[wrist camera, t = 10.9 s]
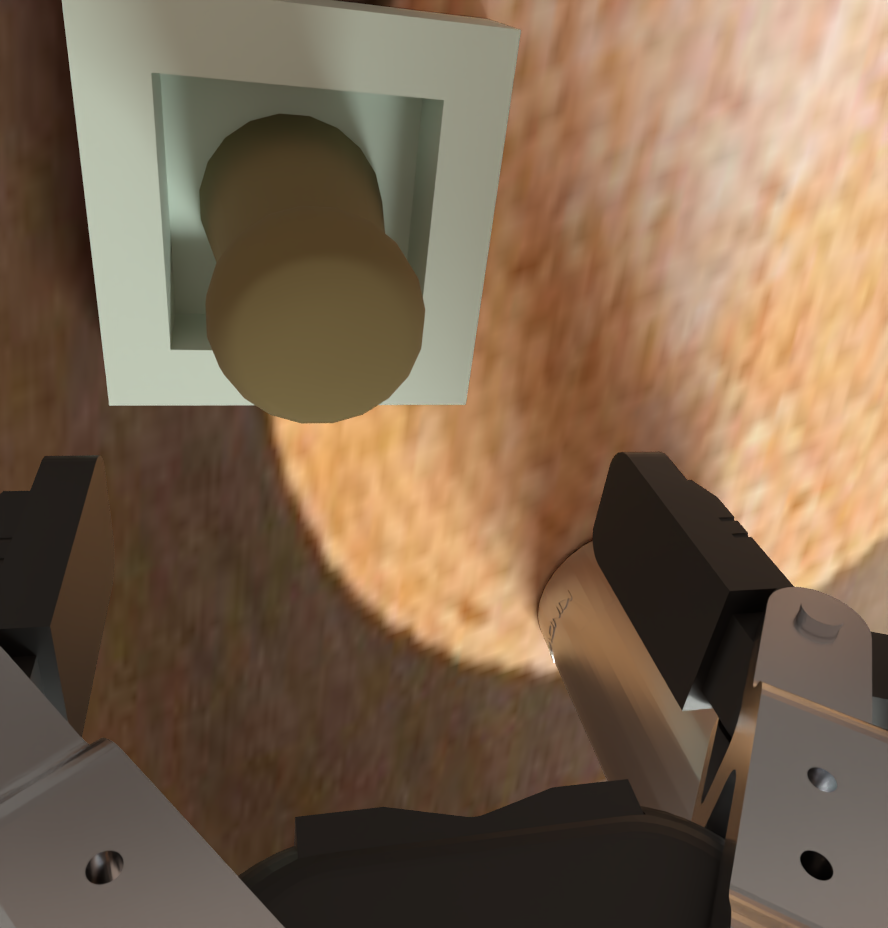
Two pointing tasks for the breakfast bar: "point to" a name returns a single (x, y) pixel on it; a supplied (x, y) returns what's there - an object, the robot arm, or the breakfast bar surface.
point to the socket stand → (264, 94)
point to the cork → (305, 273)
